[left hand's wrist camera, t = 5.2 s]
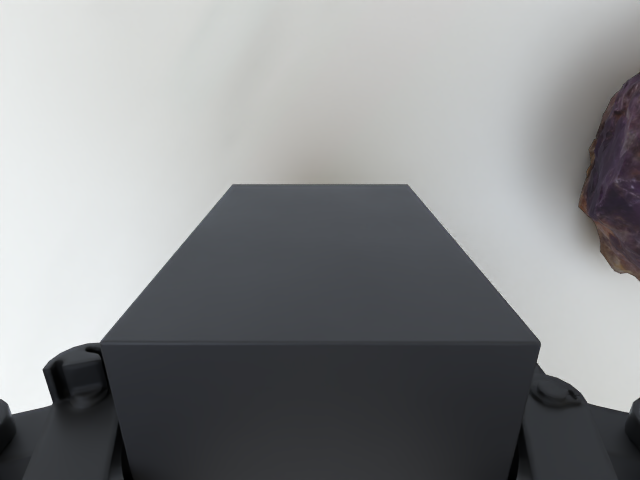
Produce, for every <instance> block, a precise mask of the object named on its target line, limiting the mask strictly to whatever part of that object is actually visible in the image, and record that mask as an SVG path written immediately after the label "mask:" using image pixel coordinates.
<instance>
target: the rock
mask: <svg viewBox="0 0 640 480" xmlns="http://www.w3.org/2000/svg"><path fill="white" fill-rule="evenodd" d="M596 138H597V139H594V141H593V143H592V145H591V146H590V148H589V154H590V159H591V165H590V167H589V168H588V170H587V172H586V174H587V178H586V180H585V183H584V186H583V189H582V192H581V196H580V200H579V206H578V207H579V208H580V209H581V210H582V211H583V212H584V213H585V214H586V215H587V216H588V217H590V218H591V219H592V220H593V221H594V222H595V225H596V228H597V231H598V234H599V237H600V252H601V253H602V254H603V256H604V257H605V259H606V260H607V262H608V263H609V265H610V266H611V268H613V270H614V271H615V272H618V273H620V274H622V273H629V274H631V275H633V276H635V277H636V278H637V279H638V280H639V281H640V72H639V73H638V74H637V75H635V76H634V77H632V78H631V79H629V80H628V81H627V82H626V83H625V84H623V87H622V88H621V90H620V91H618V92H617V93H616V94H615V95H614V96H613V97H612V98H611V100H610V103H609V105H608V107H607V109H606V111H605V112H604V114H603V116H602V121H601V124H600V127H599V130H598V133H597V135H596Z"/></svg>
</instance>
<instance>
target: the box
mask: <svg viewBox="0 0 640 480" xmlns="http://www.w3.org/2000/svg"><path fill="white" fill-rule="evenodd" d="M540 346H541V343H540V341H539V339H538V338H537V337H536V336H535V335H534V334H533V332H532V331H531V330H530V329H529V328H528V326H527V325H526V324H525V323H524V322H523V321H522V319H521V318H520V317H519V316H518V315H517V313H516V312H515V311H514V310H513V309H512V308H511V306H510V305H509V304H508V303H507V302H506V300H505V299H504V298H503V297H502V296H501V294H500V293H499V292H498V291H497V290H496V289H495V287H494V286H493V285H492V284H491V283H490V281H489V280H488V279H487V278H486V277H485V276H484V274H483V273H482V272H481V271H480V270H479V268H478V267H477V266H476V265H475V264H474V263H473V261H472V260H471V259H470V258H469V257H468V255H467V254H466V253H465V252H464V251H463V250H462V248H461V247H460V246H459V245H458V244H457V242H456V241H455V240H454V239H453V238H452V236H451V235H450V234H449V233H448V232H447V231H446V229H445V228H444V227H443V226H442V225H441V223H440V222H439V221H438V220H437V219H436V218H435V216H434V215H433V214H432V213H431V212H430V210H429V209H428V208H427V207H426V206H425V205H424V203H423V202H422V201H421V200H420V199H419V197H418V196H417V195H416V194H415V193H414V191H413V190H412V189H411V188H410V187H409V186H408V185H407V184H233V185H232V186H231V187H230V188H229V190H228V191H227V192H226V193H225V194H224V195H223V197H222V198H221V199H220V200H219V201H218V203H217V204H216V205H215V206H214V207H213V208H212V210H211V211H210V212H209V213H208V214H207V216H206V217H205V218H204V219H203V220H202V222H201V223H200V224H199V225H198V226H197V227H196V229H195V230H194V231H193V232H192V233H191V235H190V236H189V237H188V238H187V239H186V241H185V242H184V243H183V244H182V245H181V246H180V248H179V249H178V250H177V251H176V252H175V254H174V255H173V256H172V257H171V258H170V260H169V261H168V262H167V263H166V264H165V265H164V267H163V268H162V269H161V270H160V271H159V273H158V274H157V275H156V276H155V277H154V279H153V280H152V281H151V282H150V283H149V284H148V286H147V287H146V288H145V289H144V290H143V292H142V293H141V294H140V295H139V296H138V298H137V299H136V300H135V301H134V302H133V303H132V305H131V306H130V307H129V308H128V309H127V311H126V312H125V313H124V314H123V315H122V316H121V318H120V319H119V320H118V321H117V322H116V324H115V325H114V326H113V327H112V328H111V330H110V331H109V332H108V333H107V334H106V335H105V337H104V338H103V339H102V340H101V342H100V348H101V352H102V356H103V360H104V364H105V368H106V372H107V376H108V380H109V384H110V388H111V392H112V397H113V401H114V405H115V409H116V413H117V417H118V421H119V425H120V429H121V433H122V437H123V441H124V445H125V449H126V454H127V458H128V462H129V466H130V470H131V474H132V478H133V480H508V476H509V472H510V468H511V464H512V460H513V456H514V452H515V448H516V444H517V440H518V436H519V432H520V428H521V423H522V419H523V415H524V411H525V407H526V403H527V399H528V395H529V391H530V387H531V383H532V379H533V375H534V371H535V367H536V363H537V359H538V354H539V350H540Z"/></svg>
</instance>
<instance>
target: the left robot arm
mask: <svg viewBox="0 0 640 480" xmlns="http://www.w3.org/2000/svg"><path fill="white" fill-rule="evenodd" d="M43 373H44V376H45V379H46V382H47V385H48V388H49V392H50V395H51V398H52V401H53V404H52V405H51V406H47V407H44V408H39V409H35V410H30V411H26V412H21V413H17V414H11V411H10V409H9V406H8V404H7V403H6V402H4V401H3V400H2V399H0V480H133V478H132V474H131V470H130V466H129V462H128V458H127V454H126V449H125V445H124V441H123V437H122V433H121V429H120V425H119V421H118V417H117V413H116V409H115V405H114V401H113V397H112V392H111V388H110V384H109V380H108V376H107V372H106V368H105V364H104V360H103V356H102V352H101V348H100V343H88V344H84V345H80V346H76V347H73V348H71V349H68V350H66V351H64V352H62V353H60V354H58V355H57V356H56V357H54V358H53V359H51V360H50V361H49V362H48V363H47V365H46V366H45V367H44V368H43ZM508 480H640V398H638V399H637V400H636V401H634V402H633V404H632V407H631V410H630V412H629V413H626V412H622V411H618V410H613V409H609V408H604V407H600V406H595V405H592V404H589V403H587V401H586V400H585V398H584V397H583V395H582V394H581V393H580V392H579V391H578V390H577V389H575V388H574V387H573V386H572V385H570V384H568V383H566V382H564V381H562V380H561V379H559V378H556V377H552V376H549V375H546V374H545V373H544V372H543V370H542V369H541V368H540V366H539V365H538V364H537V363H536V367H535V371H534V375H533V379H532V383H531V387H530V391H529V395H528V399H527V403H526V407H525V411H524V415H523V419H522V423H521V428H520V432H519V436H518V440H517V444H516V448H515V452H514V456H513V460H512V464H511V468H510V472H509V476H508Z"/></svg>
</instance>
